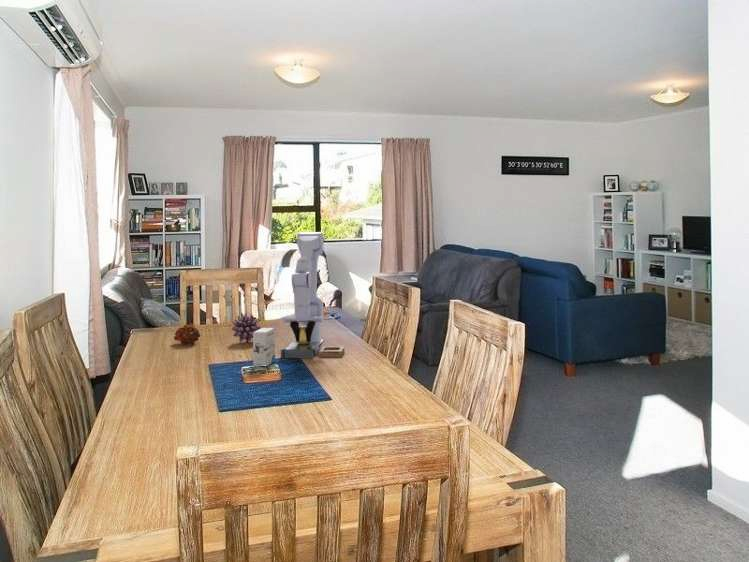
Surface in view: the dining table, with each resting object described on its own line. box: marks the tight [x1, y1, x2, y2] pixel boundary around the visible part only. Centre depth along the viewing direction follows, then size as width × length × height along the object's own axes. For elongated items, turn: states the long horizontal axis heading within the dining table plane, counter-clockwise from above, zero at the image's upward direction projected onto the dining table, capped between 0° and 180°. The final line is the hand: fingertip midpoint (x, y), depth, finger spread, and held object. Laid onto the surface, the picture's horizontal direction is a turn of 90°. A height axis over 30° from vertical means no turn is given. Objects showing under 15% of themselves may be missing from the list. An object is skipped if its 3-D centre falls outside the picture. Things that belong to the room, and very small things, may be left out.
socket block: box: [284, 341, 320, 359], centre depth 226 cm, size 13×10×3 cm
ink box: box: [252, 327, 276, 367], centre depth 211 cm, size 9×5×12 cm, turn 168°
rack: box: [318, 346, 345, 358], centre depth 224 cm, size 8×8×2 cm
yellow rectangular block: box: [298, 325, 309, 346], centre depth 228 cm, size 4×4×10 cm
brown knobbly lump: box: [173, 323, 201, 345], centre depth 250 cm, size 8×8×12 cm
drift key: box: [280, 347, 286, 358], centre depth 222 cm, size 3×9×3 cm, turn 86°
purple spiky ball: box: [231, 312, 262, 343], centre depth 250 cm, size 12×12×12 cm
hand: (303, 341), depth 228 cm, fingers closed on yellow rectangular block, 4 cm apart
